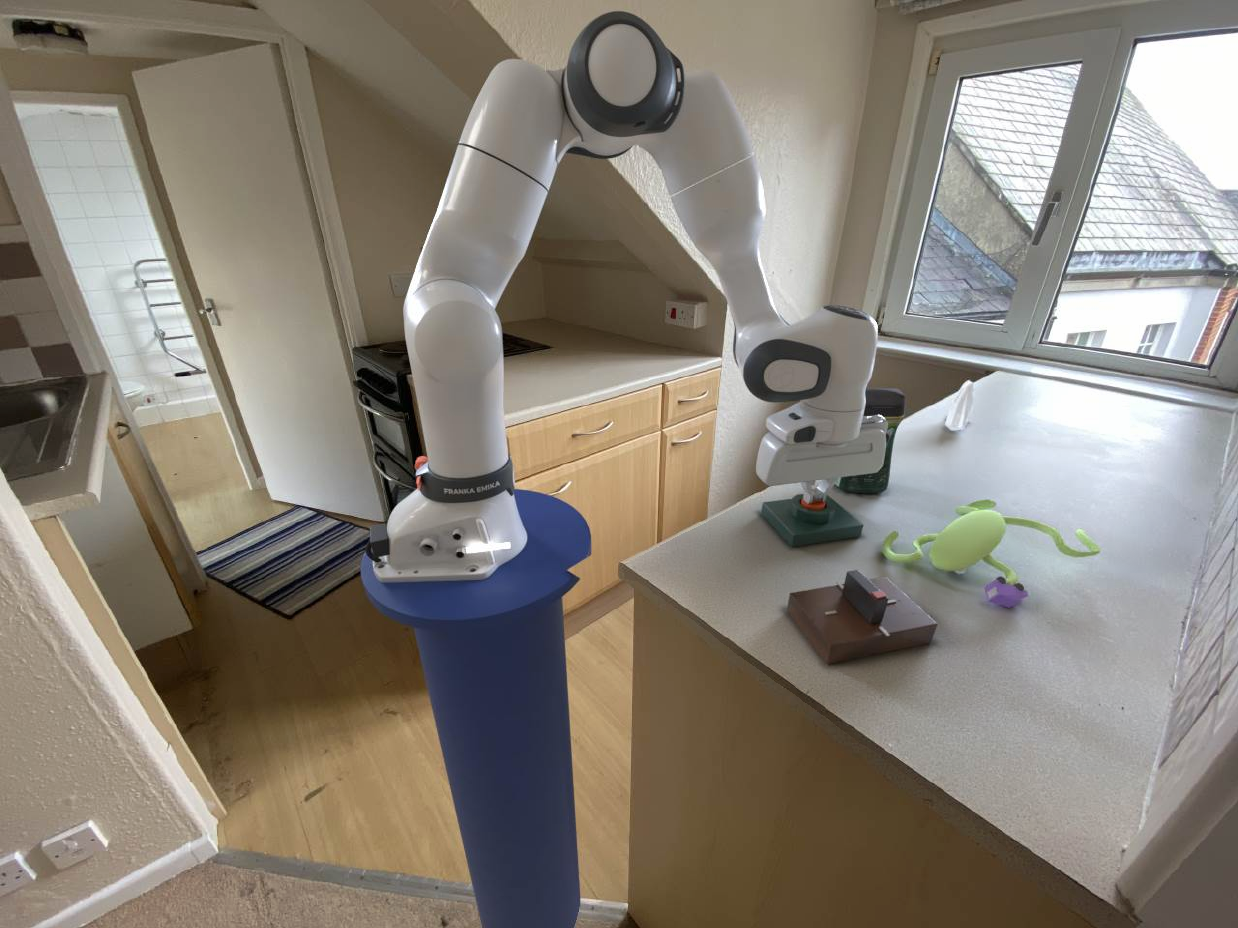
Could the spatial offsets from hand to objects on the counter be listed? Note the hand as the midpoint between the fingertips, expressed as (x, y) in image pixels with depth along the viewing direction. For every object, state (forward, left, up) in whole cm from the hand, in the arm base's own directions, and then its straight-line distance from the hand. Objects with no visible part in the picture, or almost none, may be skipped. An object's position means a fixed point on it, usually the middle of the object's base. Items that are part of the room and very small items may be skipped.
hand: (813, 500), depth 84 cm
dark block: (-7, -22, -1) cm, 23 cm away
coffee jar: (+16, +10, -5) cm, 19 cm away
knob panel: (-7, -22, -4) cm, 24 cm away
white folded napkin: (+56, +30, -5) cm, 64 cm away
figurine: (+20, -14, -5) cm, 25 cm away
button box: (0, 0, -4) cm, 4 cm away
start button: (0, 0, -2) cm, 2 cm away
